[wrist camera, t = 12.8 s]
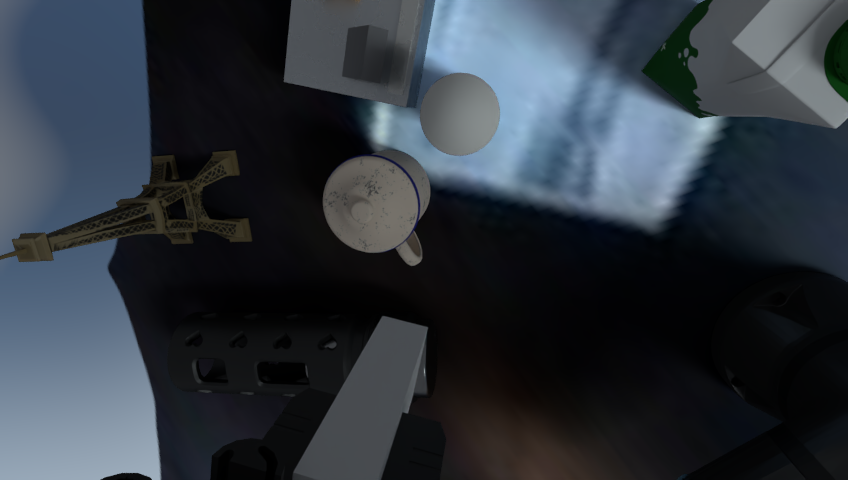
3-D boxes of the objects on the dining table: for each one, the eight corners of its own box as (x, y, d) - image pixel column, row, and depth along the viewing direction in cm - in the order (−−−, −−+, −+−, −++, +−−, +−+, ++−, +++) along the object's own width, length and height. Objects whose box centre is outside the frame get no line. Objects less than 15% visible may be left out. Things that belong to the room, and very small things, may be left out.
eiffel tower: (236, 150, 50) (1, 183, 26) (252, 240, 53) (53, 343, 29) (153, 156, 52) (-136, 192, 28) (173, 243, 55) (-74, 342, 31)
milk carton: (698, 132, 42) (863, 147, 23) (625, 72, 42) (731, 37, 23) (776, 51, 40) (1034, -7, 20) (698, -14, 39) (888, -135, 20)
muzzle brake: (216, 294, 56) (155, 332, 46) (436, 295, 51) (422, 338, 41) (229, 362, 58) (175, 412, 49) (441, 369, 54) (428, 426, 44)
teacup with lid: (336, 173, 49) (289, 191, 38) (405, 131, 47) (377, 136, 35) (391, 265, 51) (362, 307, 40) (461, 229, 48) (450, 263, 37)
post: (504, 94, 44) (508, 81, 27) (492, 144, 46) (489, 163, 28) (455, 84, 45) (428, 65, 27) (444, 134, 46) (413, 146, 29)
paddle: (362, 33, 40) (388, 30, 35) (355, 79, 41) (380, 83, 36) (344, 28, 39) (369, 24, 34) (338, 75, 40) (361, 79, 35)
